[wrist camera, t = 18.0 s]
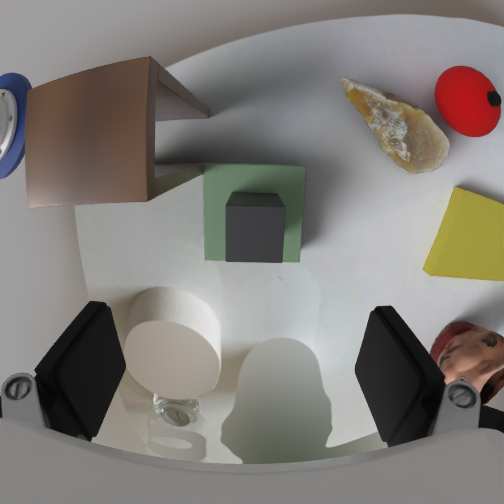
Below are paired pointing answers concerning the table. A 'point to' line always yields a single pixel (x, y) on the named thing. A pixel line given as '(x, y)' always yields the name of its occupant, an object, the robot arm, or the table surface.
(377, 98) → the stone
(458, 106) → the ornament
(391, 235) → the table surface
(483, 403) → the face mug
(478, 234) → the flat olive board
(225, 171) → the sage green square slab
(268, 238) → the block
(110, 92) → the tall brown wooden block
